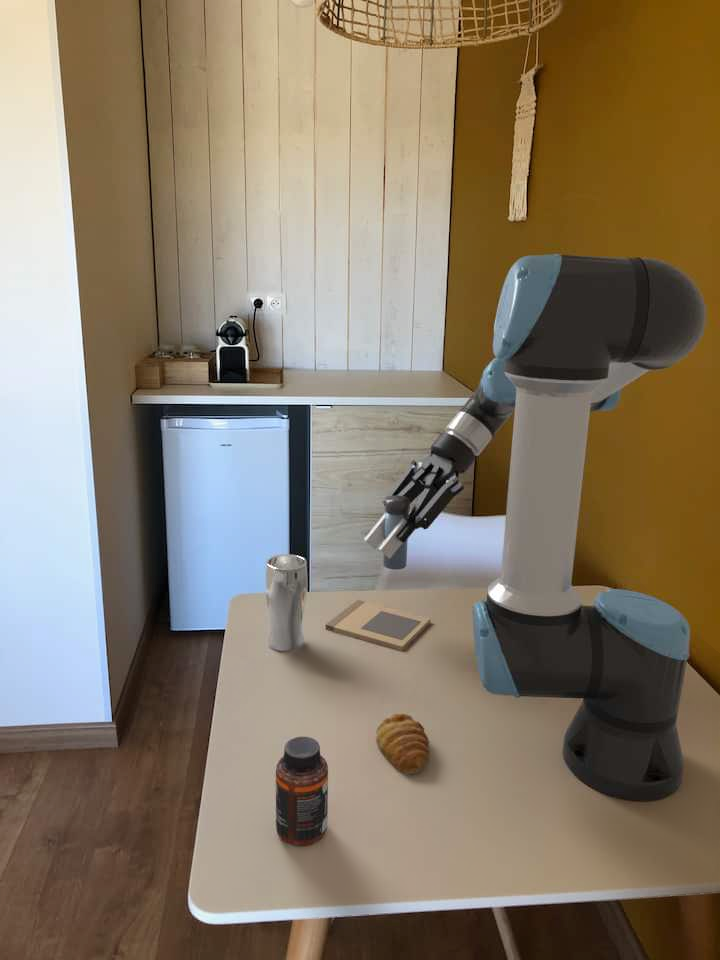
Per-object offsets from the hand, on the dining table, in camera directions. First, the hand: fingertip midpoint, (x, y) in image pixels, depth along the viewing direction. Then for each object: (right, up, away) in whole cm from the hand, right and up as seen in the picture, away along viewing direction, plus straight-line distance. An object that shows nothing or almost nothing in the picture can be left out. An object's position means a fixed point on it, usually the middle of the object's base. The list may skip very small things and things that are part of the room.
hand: (376, 548), depth 131 cm
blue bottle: (+3, -3, +3) cm, 5 cm away
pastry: (+3, -25, -27) cm, 37 cm away
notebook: (0, -14, +8) cm, 16 cm away
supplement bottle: (-10, -29, -42) cm, 52 cm away
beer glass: (-15, -16, 0) cm, 22 cm away
